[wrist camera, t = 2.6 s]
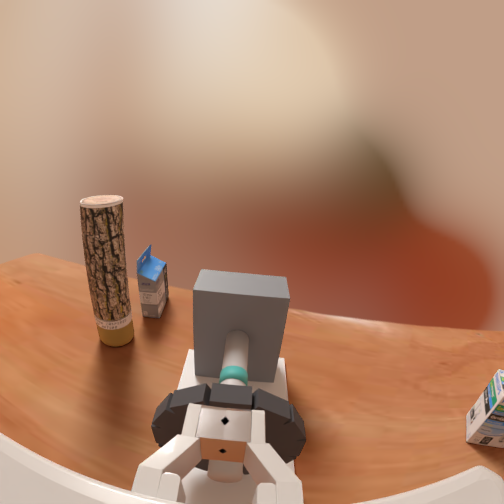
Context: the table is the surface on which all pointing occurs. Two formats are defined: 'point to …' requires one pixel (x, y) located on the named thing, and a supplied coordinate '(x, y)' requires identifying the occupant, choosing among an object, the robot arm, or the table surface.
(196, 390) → the ring
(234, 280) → the pipe rig
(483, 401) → the light bulb box
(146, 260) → the label tape box
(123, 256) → the paper tube
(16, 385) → the table surface
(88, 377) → the table surface
